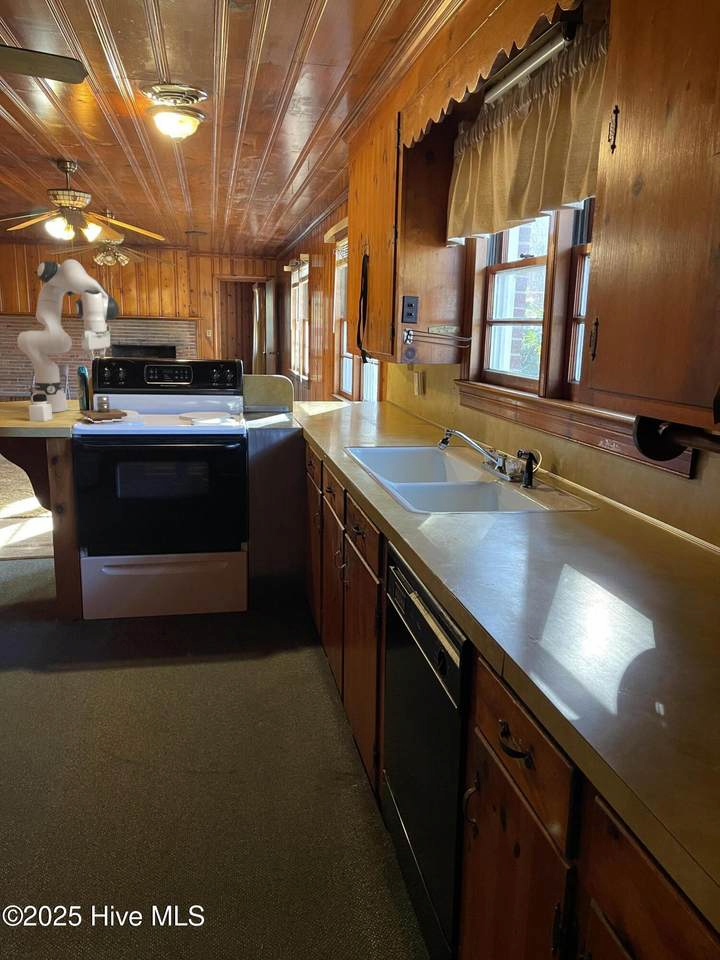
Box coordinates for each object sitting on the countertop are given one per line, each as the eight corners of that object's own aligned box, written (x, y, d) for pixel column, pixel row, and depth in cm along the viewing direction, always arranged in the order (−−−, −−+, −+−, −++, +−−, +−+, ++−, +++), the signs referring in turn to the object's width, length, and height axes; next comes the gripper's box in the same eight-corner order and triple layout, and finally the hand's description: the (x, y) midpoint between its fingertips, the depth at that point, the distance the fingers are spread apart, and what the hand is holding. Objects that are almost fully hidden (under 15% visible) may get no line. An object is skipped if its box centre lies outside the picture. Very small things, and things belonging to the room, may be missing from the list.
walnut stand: (81, 419, 324) (81, 411, 323) (117, 417, 332) (116, 408, 332) (91, 424, 311) (90, 415, 310) (127, 421, 320) (127, 413, 319)
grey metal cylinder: (95, 412, 320) (93, 396, 318) (104, 410, 324) (103, 395, 323) (102, 413, 317) (101, 397, 316) (112, 411, 322) (111, 396, 320)
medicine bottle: (52, 419, 323) (50, 393, 320) (44, 421, 316) (42, 395, 314) (38, 418, 324) (35, 392, 321) (29, 421, 317) (27, 394, 314)
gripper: (90, 328, 302) (93, 361, 305) (112, 326, 322) (114, 357, 325) (76, 328, 303) (79, 360, 306) (98, 326, 322) (101, 357, 326)
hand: (97, 359), depth 316 cm, fingers open, 8 cm apart
